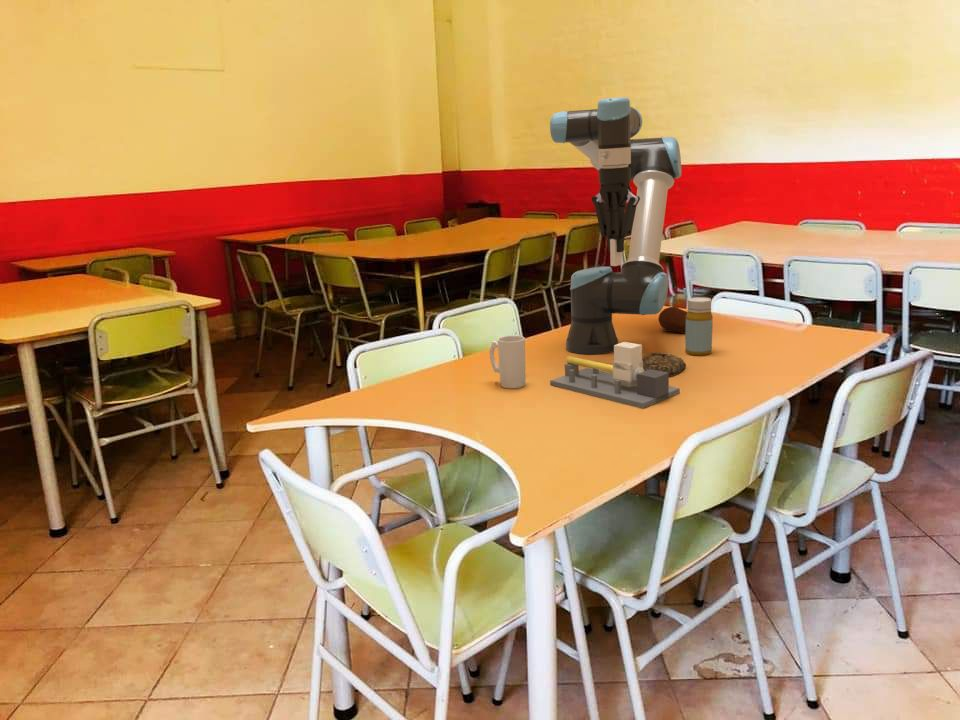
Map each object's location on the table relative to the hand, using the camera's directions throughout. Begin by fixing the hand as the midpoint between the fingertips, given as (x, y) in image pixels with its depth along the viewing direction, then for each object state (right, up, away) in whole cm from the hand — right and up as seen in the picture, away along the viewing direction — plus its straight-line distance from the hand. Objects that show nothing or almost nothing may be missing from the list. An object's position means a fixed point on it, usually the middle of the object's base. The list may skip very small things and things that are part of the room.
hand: (616, 264), depth 184 cm
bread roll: (+13, -26, +9) cm, 31 cm away
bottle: (+27, -22, +22) cm, 41 cm away
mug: (-27, -30, +4) cm, 40 cm away
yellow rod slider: (-2, -30, -4) cm, 31 cm away
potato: (+27, -15, +47) cm, 56 cm away
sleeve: (+1, -29, -8) cm, 30 cm away
